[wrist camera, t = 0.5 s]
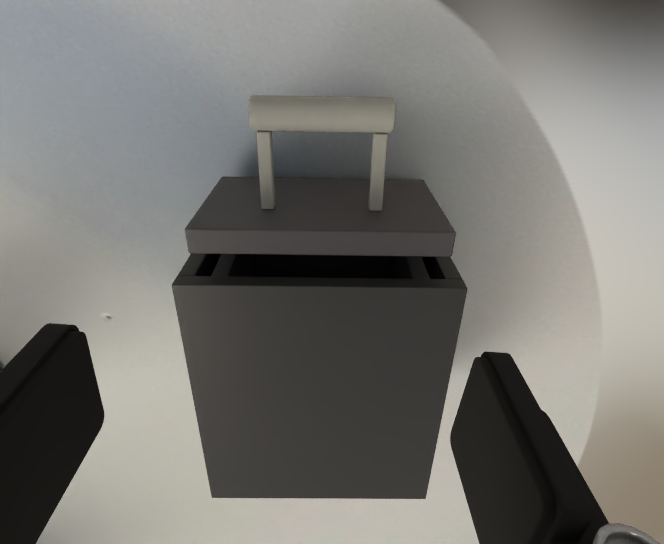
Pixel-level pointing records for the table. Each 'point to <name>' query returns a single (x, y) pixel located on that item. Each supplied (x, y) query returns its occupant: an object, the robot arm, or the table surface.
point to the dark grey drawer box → (319, 379)
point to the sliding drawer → (321, 205)
